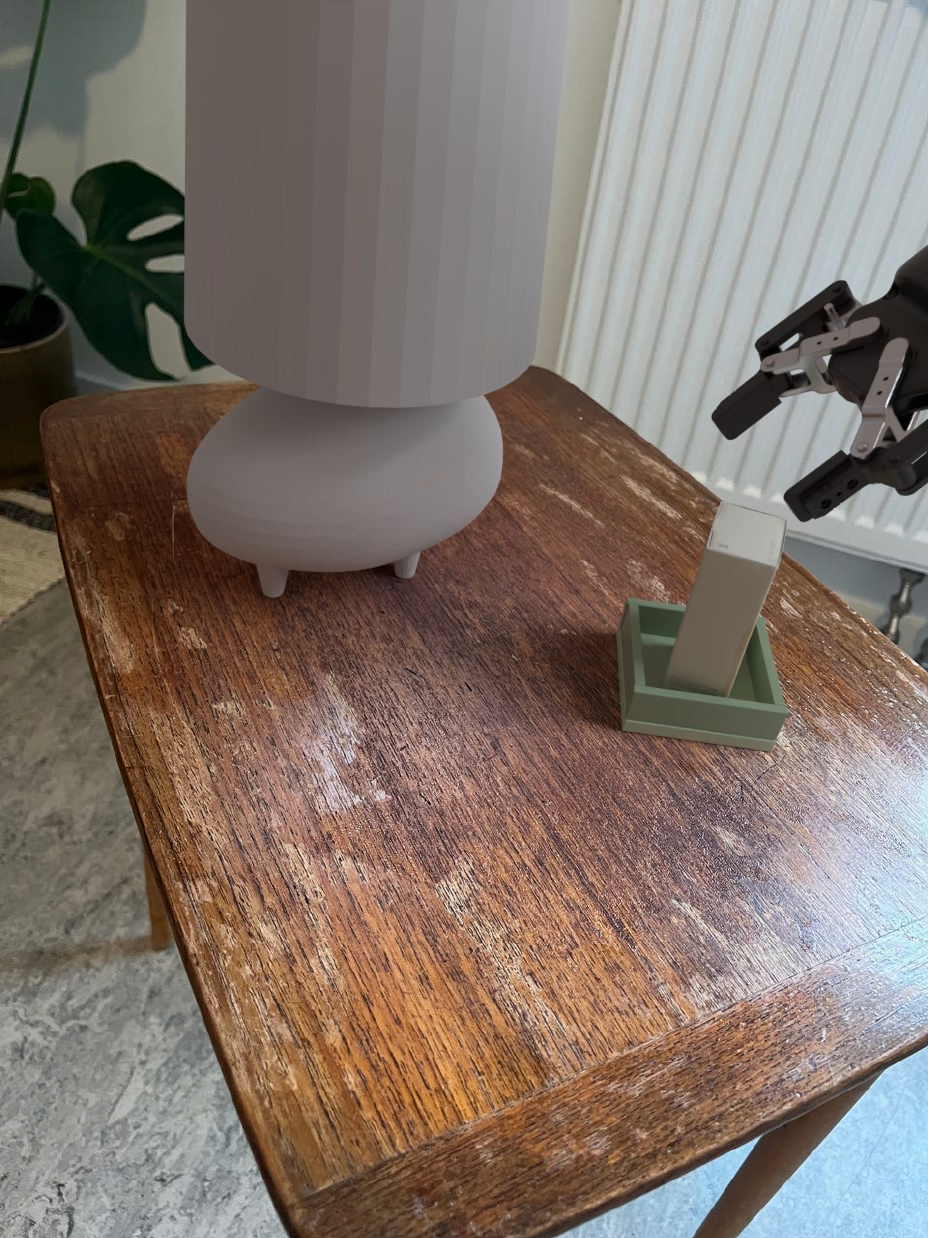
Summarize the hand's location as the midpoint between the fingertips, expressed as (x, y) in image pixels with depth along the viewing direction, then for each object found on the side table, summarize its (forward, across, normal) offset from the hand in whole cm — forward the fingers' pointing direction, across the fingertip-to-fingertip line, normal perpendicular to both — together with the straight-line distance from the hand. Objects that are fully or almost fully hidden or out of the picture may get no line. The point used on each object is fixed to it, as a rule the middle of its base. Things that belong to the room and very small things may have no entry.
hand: (753, 467), depth 54 cm
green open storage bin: (+12, 0, +14) cm, 18 cm away
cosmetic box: (+11, 0, +13) cm, 17 cm away
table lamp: (+27, -16, -1) cm, 31 cm away
